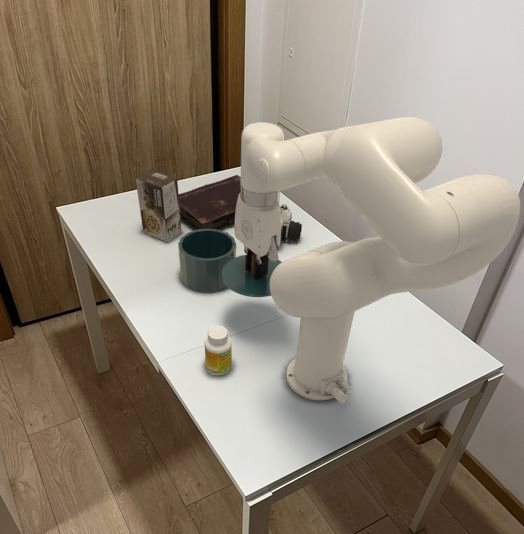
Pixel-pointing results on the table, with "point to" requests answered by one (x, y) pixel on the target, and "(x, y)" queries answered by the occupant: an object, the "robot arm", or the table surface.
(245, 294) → the lid
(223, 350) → the supplement bottle
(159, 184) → the coffee box
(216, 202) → the diary
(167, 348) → the table surface
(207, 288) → the tin
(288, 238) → the camera
